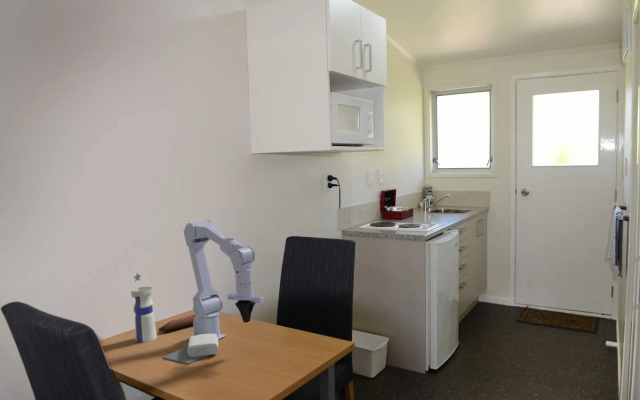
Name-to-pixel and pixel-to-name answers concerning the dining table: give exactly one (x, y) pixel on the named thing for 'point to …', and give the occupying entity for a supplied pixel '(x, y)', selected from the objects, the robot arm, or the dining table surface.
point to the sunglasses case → (177, 324)
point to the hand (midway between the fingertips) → (246, 321)
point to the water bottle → (144, 314)
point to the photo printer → (202, 345)
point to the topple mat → (182, 356)
